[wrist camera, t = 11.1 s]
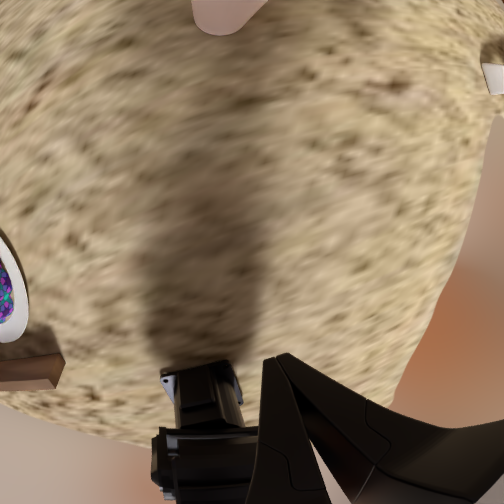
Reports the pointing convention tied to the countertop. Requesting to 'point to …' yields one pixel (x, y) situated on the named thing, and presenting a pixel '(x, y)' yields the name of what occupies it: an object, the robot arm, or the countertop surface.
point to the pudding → (3, 304)
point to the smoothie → (224, 14)
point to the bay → (31, 373)
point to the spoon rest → (494, 77)
